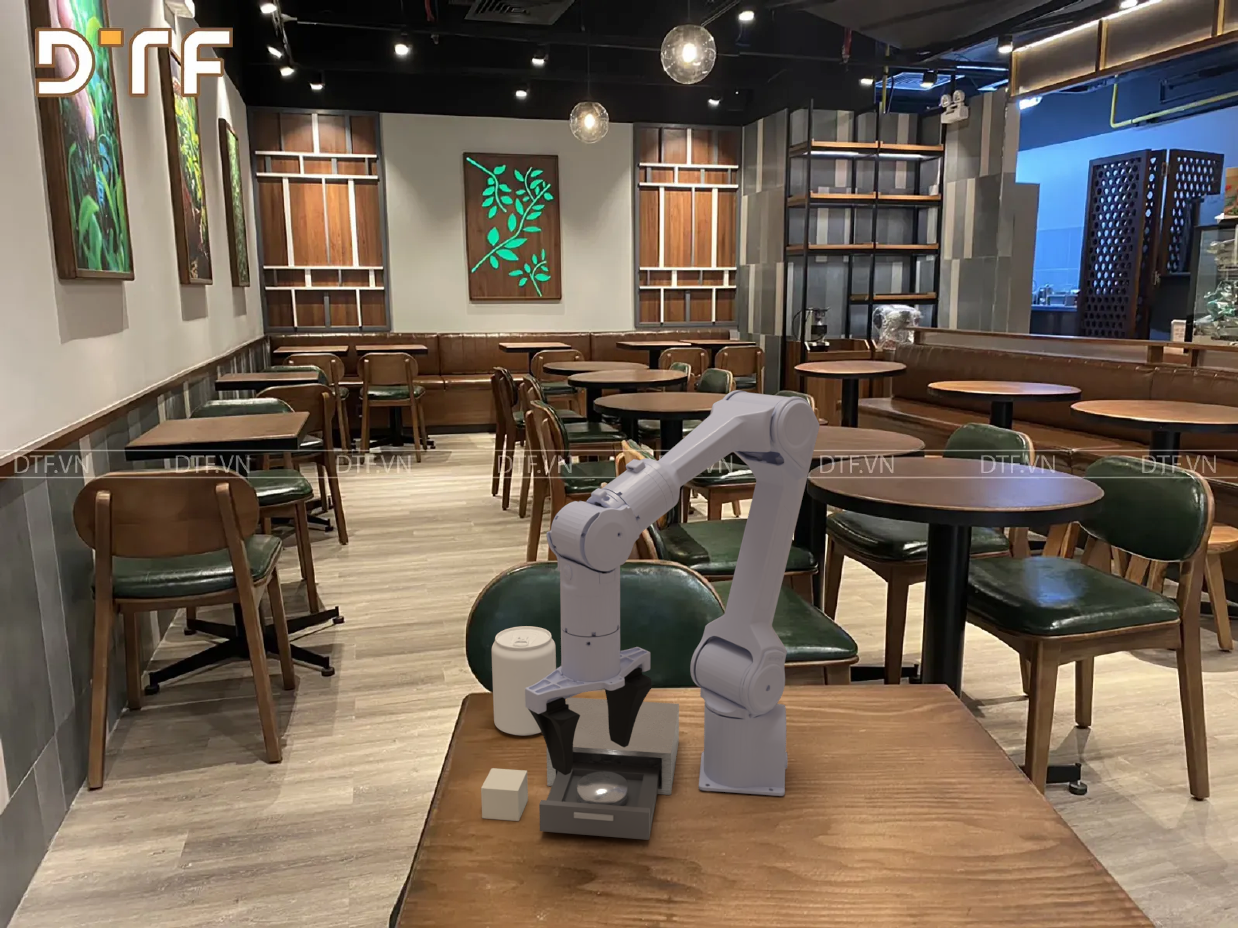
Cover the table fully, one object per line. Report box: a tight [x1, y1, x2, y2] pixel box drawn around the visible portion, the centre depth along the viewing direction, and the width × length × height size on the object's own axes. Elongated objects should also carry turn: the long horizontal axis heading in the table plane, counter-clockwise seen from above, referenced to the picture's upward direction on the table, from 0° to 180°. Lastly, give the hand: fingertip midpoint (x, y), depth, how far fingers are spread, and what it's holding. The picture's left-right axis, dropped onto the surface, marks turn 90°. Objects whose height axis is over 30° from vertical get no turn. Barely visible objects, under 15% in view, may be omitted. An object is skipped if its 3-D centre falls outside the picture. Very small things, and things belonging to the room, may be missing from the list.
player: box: [545, 697, 680, 796], centre depth 103 cm, size 14×12×5 cm
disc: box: [577, 771, 628, 806], centre depth 93 cm, size 5×5×2 cm
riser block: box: [480, 767, 529, 822], centre depth 94 cm, size 4×4×4 cm
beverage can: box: [491, 625, 557, 737], centre depth 112 cm, size 8×8×12 cm
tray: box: [538, 762, 660, 841], centre depth 93 cm, size 11×11×3 cm
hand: (591, 756), depth 87 cm, fingers open, 7 cm apart
